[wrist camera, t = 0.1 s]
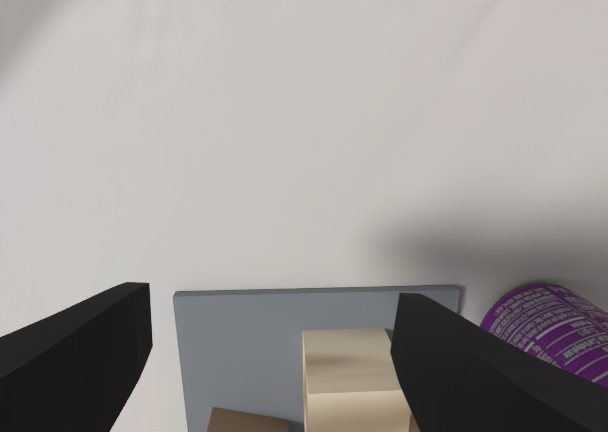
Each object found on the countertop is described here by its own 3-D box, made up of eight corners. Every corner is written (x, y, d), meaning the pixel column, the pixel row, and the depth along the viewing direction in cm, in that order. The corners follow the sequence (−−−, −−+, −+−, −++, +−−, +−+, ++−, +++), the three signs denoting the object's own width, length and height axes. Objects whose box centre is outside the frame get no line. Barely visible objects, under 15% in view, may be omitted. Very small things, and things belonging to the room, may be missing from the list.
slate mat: (429, 479, 26) (432, 487, 25) (197, 491, 25) (195, 500, 24) (455, 285, 21) (460, 289, 21) (175, 291, 20) (172, 296, 20)
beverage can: (557, 375, 24) (811, 617, 12) (458, 369, 23) (630, 618, 12) (591, 282, 22) (931, 466, 10) (485, 273, 21) (722, 458, 10)
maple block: (378, 394, 23) (404, 469, 18) (302, 397, 22) (307, 474, 18) (384, 328, 21) (413, 389, 16) (302, 330, 21) (308, 393, 16)
